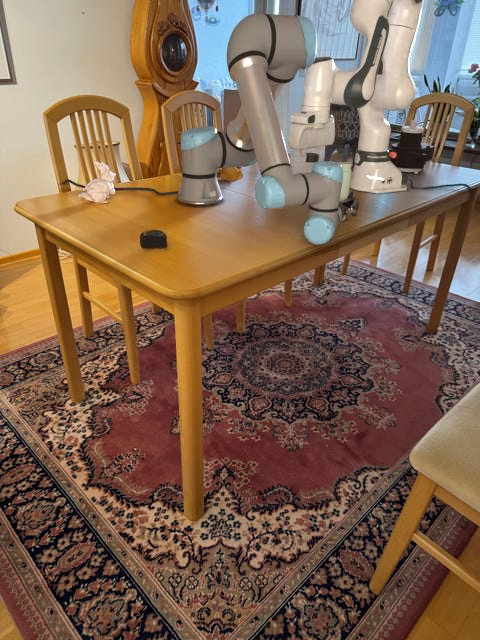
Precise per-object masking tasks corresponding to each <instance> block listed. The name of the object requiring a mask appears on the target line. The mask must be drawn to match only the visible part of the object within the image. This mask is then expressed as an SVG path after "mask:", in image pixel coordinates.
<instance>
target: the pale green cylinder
mask: <svg viewBox="0 0 480 640" xmlns="http://www.w3.org/2000/svg"><path fill="white" fill-rule="evenodd" d="M338 163H339V164H341V165H342V167H343V183H342V187H341V193H340V200H339V201H345V200H347V199H348V196H349V194H350V189H351V188H350V182H351V177H352V174H353V170H352V167H353V165H352V162H349V161H347V162H342V161H339V162H338ZM346 216H347V215H345V216H344V218H343V219H342V221H345V220H346V218H347V217H346ZM342 221H341V222H342Z"/></svg>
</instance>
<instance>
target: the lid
mask: <svg viewBox="0 0 480 640" xmlns="http://www.w3.org/2000/svg"><path fill="white" fill-rule="evenodd" d="M306 156H307V157H308V162H307V163H309V164H310V163H311V164H312V163H313V164H314V163H316V162H320V160H319V154H317V153H316V152H306Z"/></svg>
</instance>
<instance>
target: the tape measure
mask: <svg viewBox="0 0 480 640" xmlns="http://www.w3.org/2000/svg"><path fill="white" fill-rule="evenodd" d="M167 236H168V235H167V234H166V232H165V231H164V230H161V229H147V230H144V231H143V232H141V233H140V235H139V240H140V241H139V245H140V246H139V247H141V248H142V249H146V250H157V249H167V248H168V240H167V239H168V237H167Z"/></svg>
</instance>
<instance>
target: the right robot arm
mask: <svg viewBox="0 0 480 640" xmlns="http://www.w3.org/2000/svg"><path fill="white" fill-rule="evenodd" d="M423 1H424V0H353V2H352V4H351V7H350V11H349V18H350V22H351V23H350V24H351V25H352V27H353V28H354V30H355V31H356V32H357V33H358V34H359V35H361V36H362V37H364V38H366V39H367V42H366V46H365V50H364V53H363V57H362V60H361V64H360V65H359V67H358V68H356V70H344V69H342V68H339V66H337V65H336V64H335V63H334V62H335V61H334V58H333V57H331V56H320V57H319V56H318V57H315V60H314V62H313V64H312V65H311V66H310V67H309V68H307V69H305V72H304V79H303V89H302V90H303V100H302V101H301V102H302V103H301V108H300V109H298V110H297V111H296V112H294V113H292V114H291V115H290V116H289V117H290V118H289V121H290V123H291V124H290V126H289V128H288V129H289V131H288V141H287V142H288V143H287V144H288V147H289V149H291V150H295V151H296V150H298V152H299V156H300V163H309V162H308V157H307V156H306V153H308V149H311V148H315V149H316V150H315V153H317V154H319V161H320V160H321V155H322V153H323V151H324V149H325V145H332V144H333V142H334V137H335V124H334V118H333V116H332V115H329V112H330V103H333V104H339V105H347V106H351V107H355V108H357V111H358V115H359V120H360V134H359V142H358V148H357V149H356V155H355V166H353V170H352V175H351V182H350V189H352V190H355V191H359V192H367V193H372V194H386V193H387V194H388V193H393V192H394V193H395V192H404V191H408V186H406V185H408V183H409V182H410V184H409V187H410V188H411V189H416V190H418V189H419V190H431V189H441V188H446V187H461V186H462V187H466V188H467V189H468V190H472V187H471V186H470V185H469V184H466V183H452V184H451V183H450V184H449V183H448V184H442V185H441V184H440V185H433V186H425V187H415V186H414V181H413V179H411V178H409V176H408V174H406V173H402V171H400V170H399V169H398V168H397V167H396V166H395V165H394V164H393V163H392V162H391V161H390V157H392V158H395V157H396V156H397V154H395V152H390V151H388V149H389V145H390V139H391V135H392V134H391V133H392V128H391V125H390V124H389V122H388V121H387V120H386V117H385V114H384V113H385V112H384V111H387V112H397V111H402V110H406V109H408V108H409V107H410V106H411V104H413V102H414V100H415V98H416V92H417V91H416V84H415V82H414V80H413V79H412V77H411V73H410V58H411V53H412V50H413V46H414V42H415V39H416V35H417V33H418V29H419V25H420V21H421V16H422V11H423V4H424V3H423ZM381 63H382V74H379V70H380V67H381Z"/></svg>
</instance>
